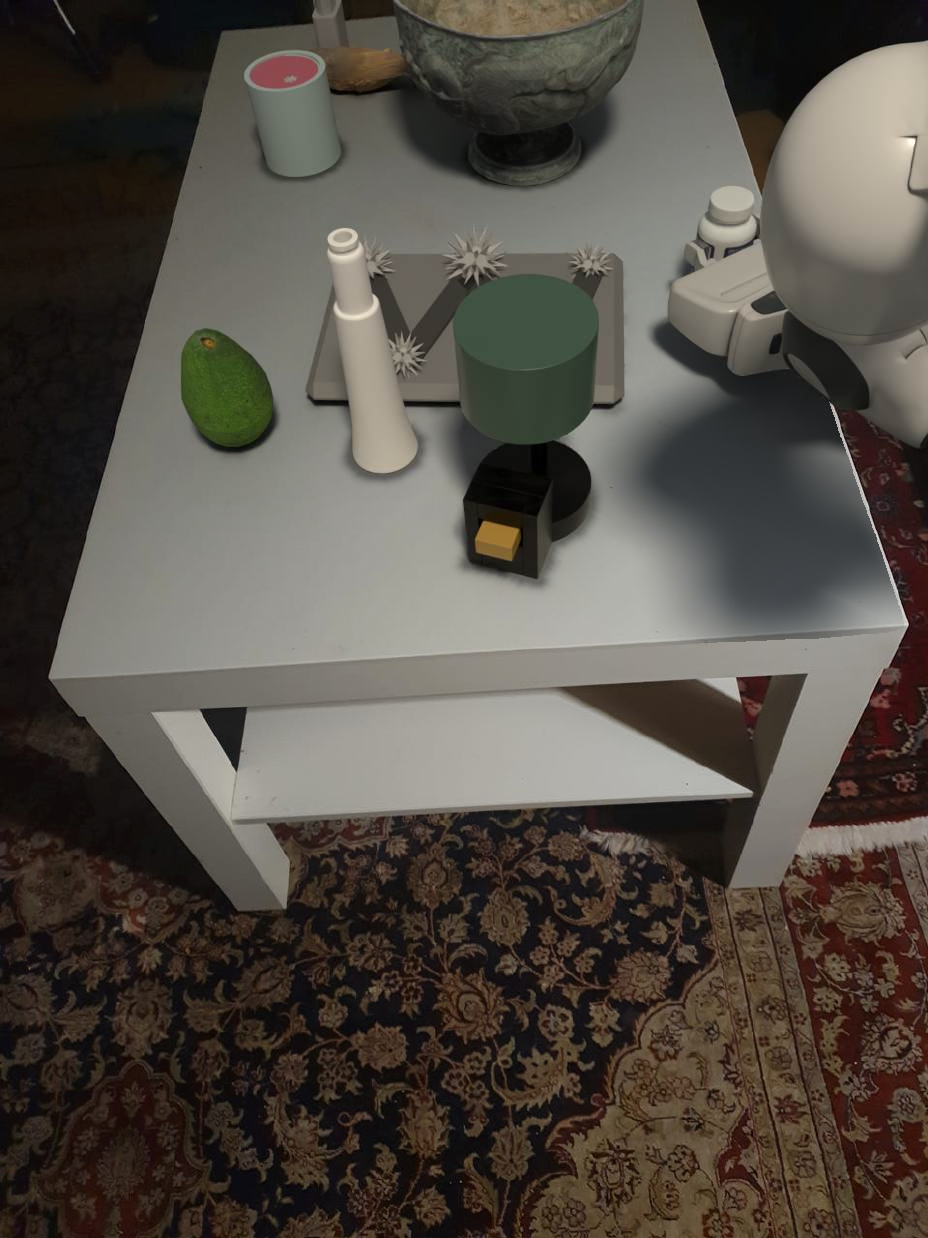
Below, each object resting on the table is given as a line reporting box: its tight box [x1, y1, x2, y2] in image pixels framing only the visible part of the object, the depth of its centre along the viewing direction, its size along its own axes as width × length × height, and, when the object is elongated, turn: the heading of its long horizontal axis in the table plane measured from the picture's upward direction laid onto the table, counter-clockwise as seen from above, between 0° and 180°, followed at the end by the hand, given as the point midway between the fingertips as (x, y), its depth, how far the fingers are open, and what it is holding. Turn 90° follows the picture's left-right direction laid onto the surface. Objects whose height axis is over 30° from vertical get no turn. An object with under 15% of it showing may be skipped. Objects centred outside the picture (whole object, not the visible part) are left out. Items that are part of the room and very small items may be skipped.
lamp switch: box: [475, 519, 521, 561], centre depth 72 cm, size 2×3×2 cm
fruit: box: [180, 327, 274, 448], centre depth 82 cm, size 8×8×12 cm
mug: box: [243, 49, 342, 178], centre depth 110 cm, size 14×9×10 cm
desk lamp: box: [453, 274, 599, 580], centre depth 71 cm, size 13×10×20 cm
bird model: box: [307, 45, 410, 94], centre depth 118 cm, size 6×21×5 cm, turn 88°
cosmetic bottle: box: [326, 227, 419, 474], centre depth 75 cm, size 6×6×22 cm
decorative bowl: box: [392, 0, 645, 187], centre depth 101 cm, size 26×26×20 cm
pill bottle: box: [690, 185, 757, 274], centre depth 88 cm, size 5×5×10 cm
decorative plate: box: [305, 223, 625, 405], centre depth 89 cm, size 30×22×7 cm
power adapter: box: [311, 0, 350, 48], centre depth 119 cm, size 3×5×12 cm, turn 174°
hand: (718, 234), depth 88 cm, fingers closed on pill bottle, 5 cm apart
